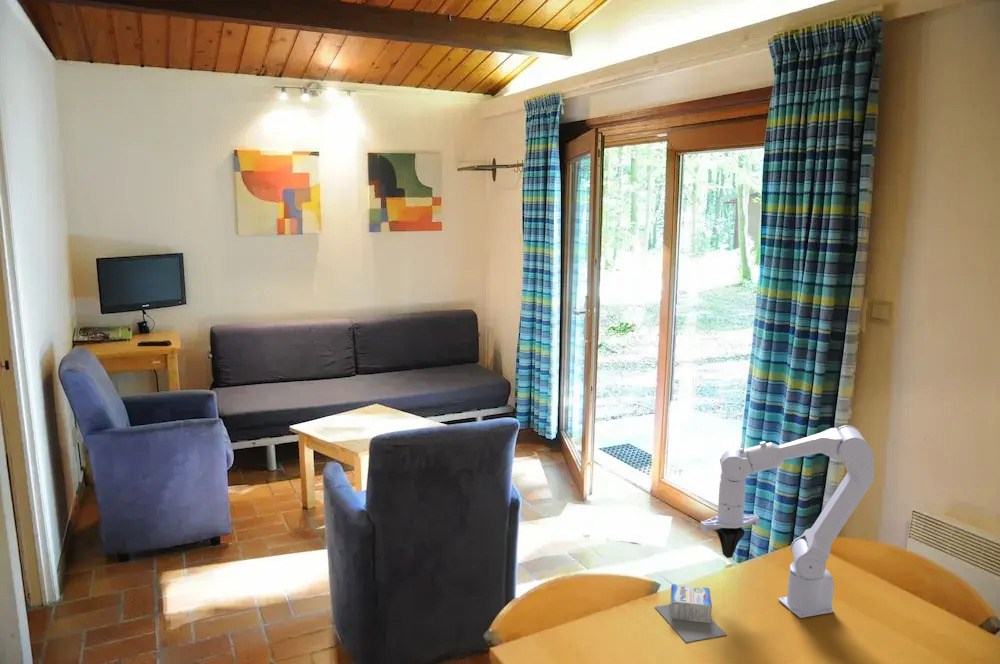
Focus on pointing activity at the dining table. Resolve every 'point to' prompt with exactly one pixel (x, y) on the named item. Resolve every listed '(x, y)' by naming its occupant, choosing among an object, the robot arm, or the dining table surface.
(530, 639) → the dining table surface
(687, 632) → the grey mat
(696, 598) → the medicine box
